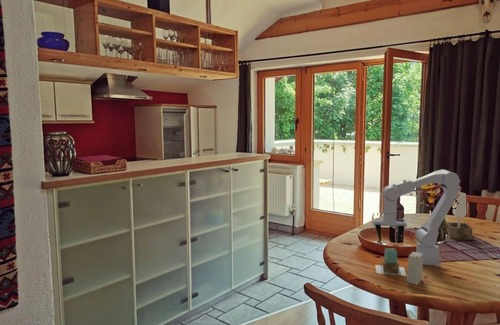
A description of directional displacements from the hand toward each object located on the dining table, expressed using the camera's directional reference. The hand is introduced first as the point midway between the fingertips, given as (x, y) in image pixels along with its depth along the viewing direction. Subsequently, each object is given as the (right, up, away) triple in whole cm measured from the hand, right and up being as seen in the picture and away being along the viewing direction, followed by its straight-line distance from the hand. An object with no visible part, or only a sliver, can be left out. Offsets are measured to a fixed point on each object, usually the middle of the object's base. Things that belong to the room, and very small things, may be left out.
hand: (388, 241), depth 174 cm
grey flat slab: (-2, -12, -8) cm, 14 cm away
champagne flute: (+52, -5, +37) cm, 64 cm away
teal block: (-2, -7, -9) cm, 11 cm away
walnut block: (-2, -11, -8) cm, 14 cm away
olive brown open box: (+52, -5, +37) cm, 64 cm away
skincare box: (+3, -13, -19) cm, 23 cm away
